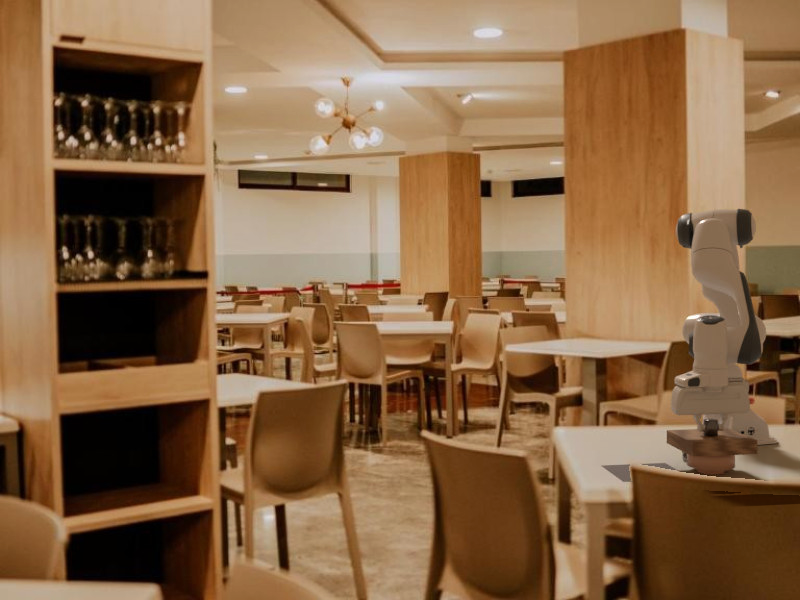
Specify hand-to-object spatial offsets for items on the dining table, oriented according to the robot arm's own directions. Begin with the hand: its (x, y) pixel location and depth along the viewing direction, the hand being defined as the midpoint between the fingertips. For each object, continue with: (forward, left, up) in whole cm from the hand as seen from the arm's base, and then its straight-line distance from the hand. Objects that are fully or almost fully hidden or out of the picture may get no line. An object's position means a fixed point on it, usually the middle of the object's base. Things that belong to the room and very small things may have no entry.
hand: (710, 430), depth 242 cm
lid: (0, 0, -5) cm, 5 cm away
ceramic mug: (-3, -14, -11) cm, 18 cm away
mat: (+17, -2, -11) cm, 20 cm away
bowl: (0, 0, -11) cm, 11 cm away
